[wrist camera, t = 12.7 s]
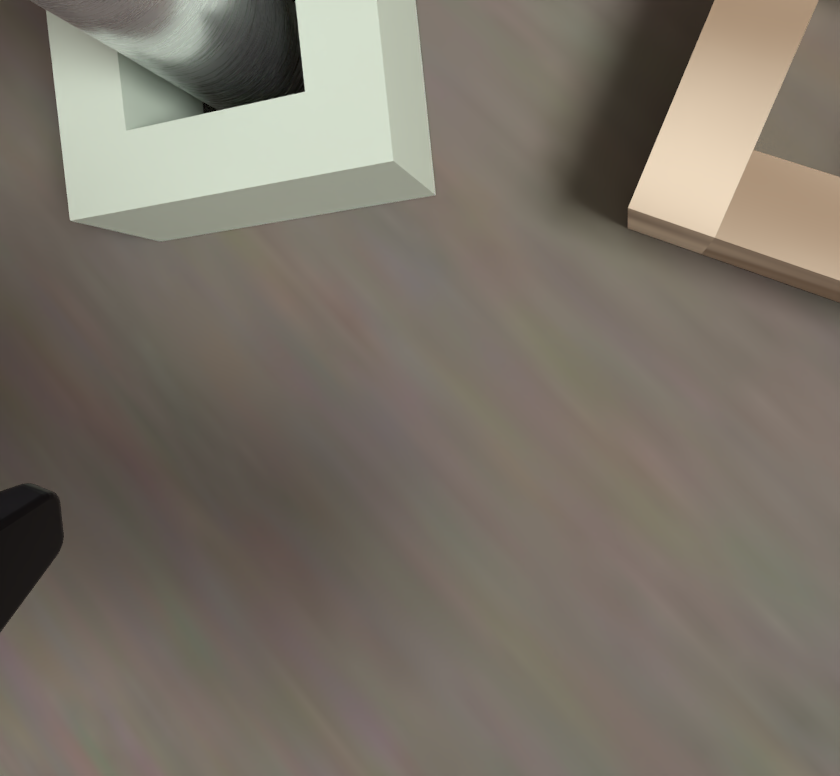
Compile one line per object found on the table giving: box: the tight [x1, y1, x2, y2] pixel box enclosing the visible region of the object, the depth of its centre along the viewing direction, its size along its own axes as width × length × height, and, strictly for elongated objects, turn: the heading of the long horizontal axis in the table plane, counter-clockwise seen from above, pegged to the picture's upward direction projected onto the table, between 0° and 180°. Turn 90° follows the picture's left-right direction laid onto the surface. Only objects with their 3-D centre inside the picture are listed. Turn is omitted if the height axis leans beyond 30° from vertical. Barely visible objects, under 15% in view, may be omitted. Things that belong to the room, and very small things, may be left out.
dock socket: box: [46, 0, 436, 242], centre depth 20 cm, size 9×9×4 cm
